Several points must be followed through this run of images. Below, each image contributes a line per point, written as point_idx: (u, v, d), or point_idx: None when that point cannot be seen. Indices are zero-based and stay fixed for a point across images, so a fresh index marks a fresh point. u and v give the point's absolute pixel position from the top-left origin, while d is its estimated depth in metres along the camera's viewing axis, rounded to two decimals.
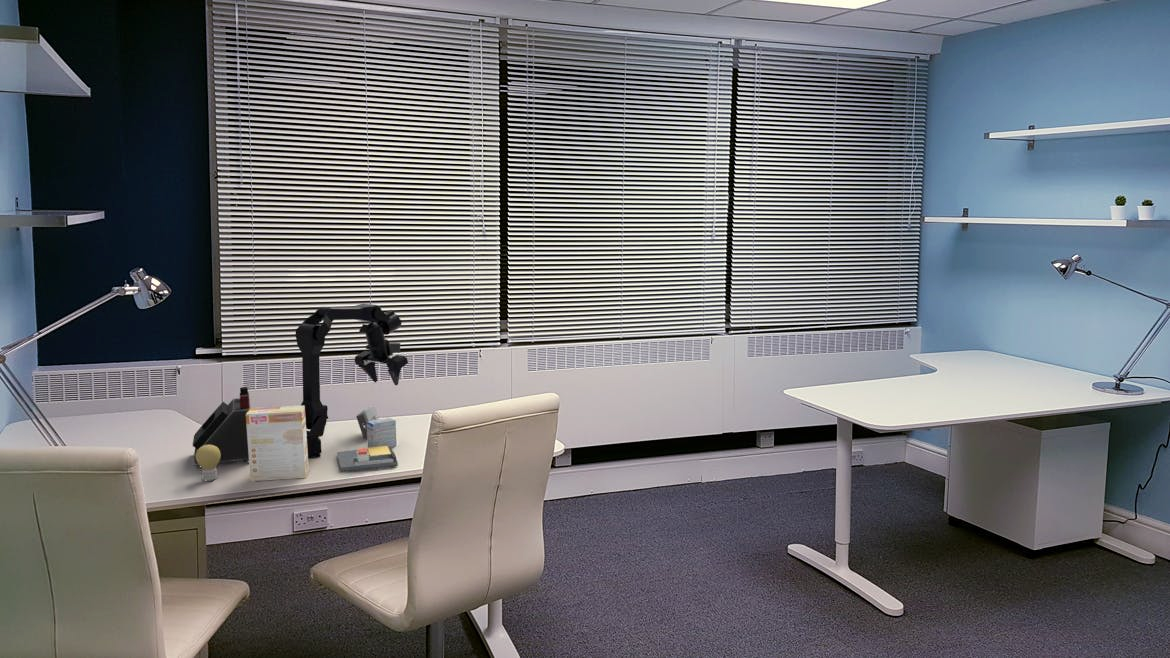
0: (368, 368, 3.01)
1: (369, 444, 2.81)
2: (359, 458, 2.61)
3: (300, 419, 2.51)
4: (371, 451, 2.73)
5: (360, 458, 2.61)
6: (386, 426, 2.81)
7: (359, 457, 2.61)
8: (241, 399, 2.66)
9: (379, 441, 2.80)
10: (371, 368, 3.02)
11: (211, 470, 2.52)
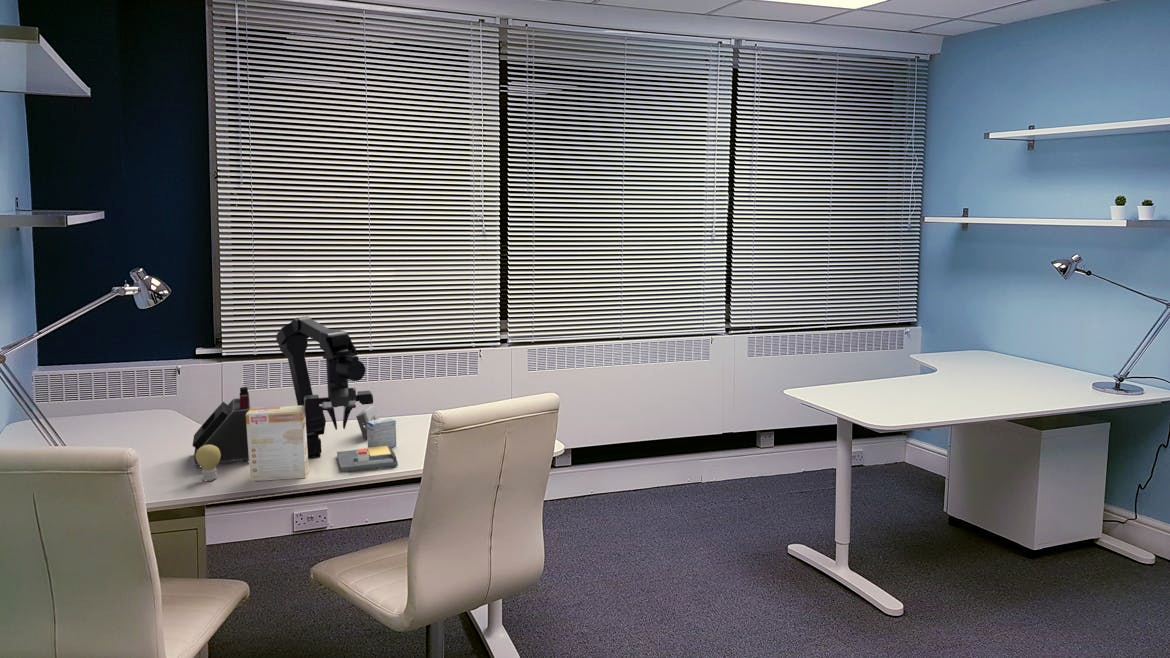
0: (344, 408, 2.61)
1: (369, 444, 2.81)
2: (359, 458, 2.61)
3: (300, 419, 2.51)
4: (371, 451, 2.73)
5: (360, 458, 2.61)
6: (386, 426, 2.81)
7: (359, 457, 2.61)
8: (241, 399, 2.66)
9: (379, 441, 2.80)
10: (344, 411, 2.60)
11: (211, 470, 2.52)
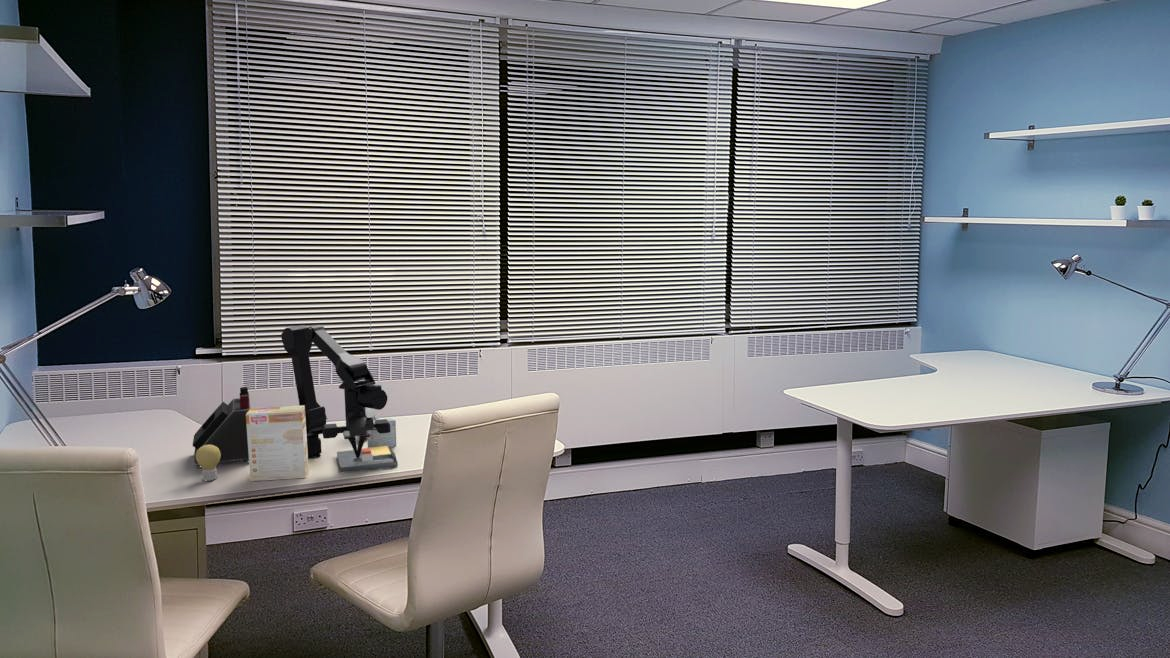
0: (358, 436, 2.63)
1: (369, 444, 2.81)
2: (362, 458, 2.62)
3: (300, 419, 2.51)
4: None
5: (364, 458, 2.62)
6: None
7: (363, 457, 2.62)
8: (241, 399, 2.66)
9: (379, 441, 2.80)
10: (358, 439, 2.63)
11: (211, 470, 2.52)
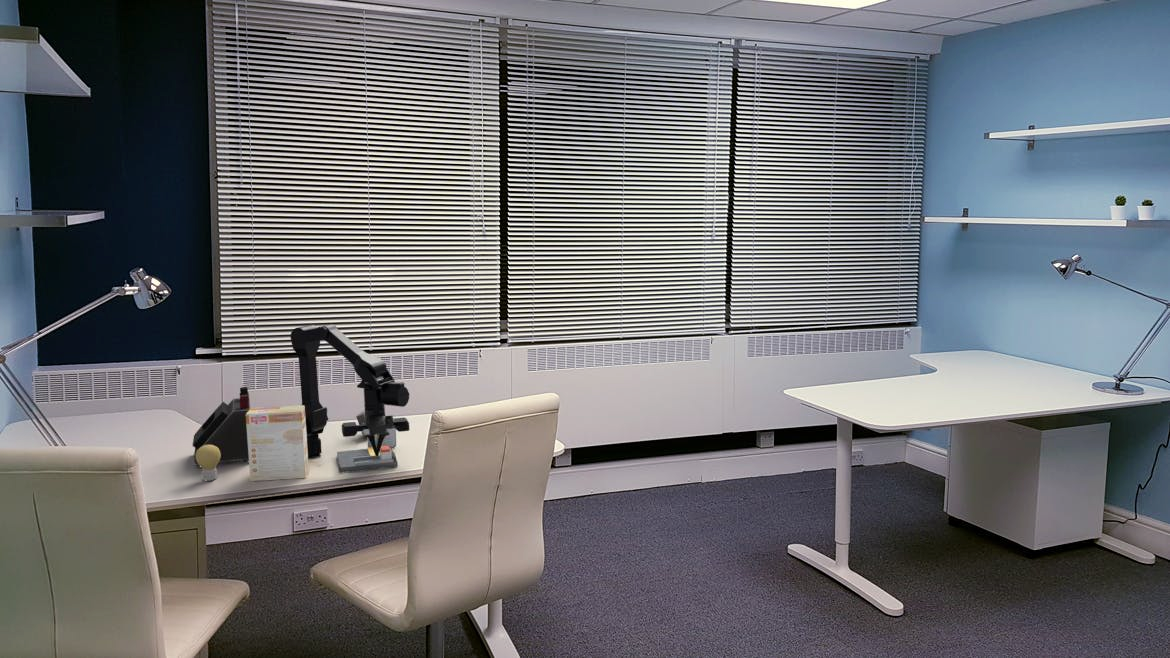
0: (377, 435, 2.65)
1: (369, 444, 2.81)
2: (381, 456, 2.63)
3: (300, 419, 2.51)
4: (371, 451, 2.73)
5: (383, 456, 2.63)
6: None
7: (382, 455, 2.63)
8: (241, 399, 2.66)
9: None
10: (377, 438, 2.64)
11: (211, 470, 2.52)
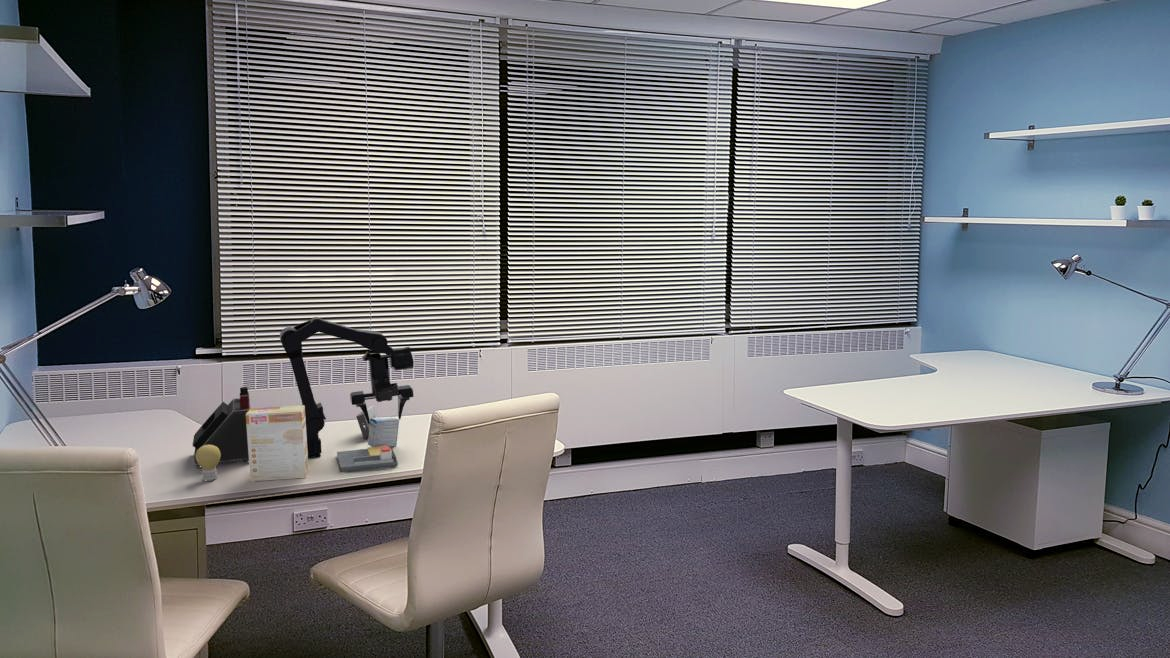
0: (398, 400, 2.84)
1: (370, 440, 2.81)
2: (382, 456, 2.63)
3: (300, 419, 2.51)
4: (371, 451, 2.73)
5: (383, 456, 2.63)
6: (389, 424, 2.81)
7: (382, 455, 2.63)
8: (241, 399, 2.66)
9: (380, 439, 2.80)
10: (398, 403, 2.83)
11: (211, 470, 2.52)
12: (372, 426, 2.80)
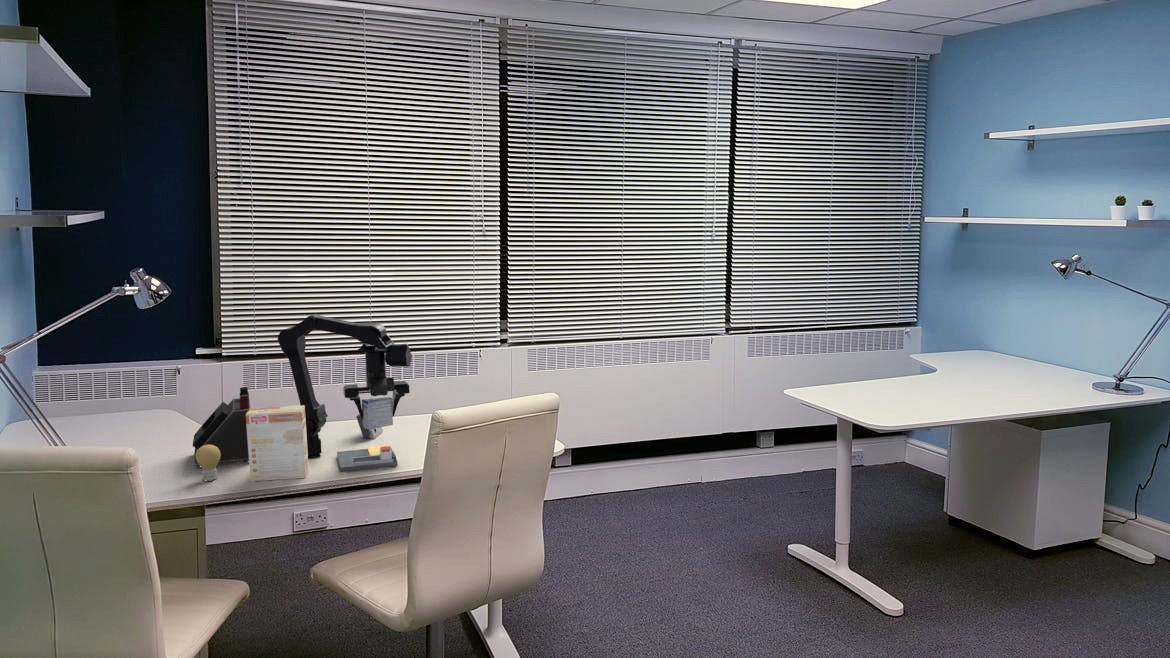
0: (393, 396, 2.73)
1: (364, 422, 2.70)
2: (382, 456, 2.63)
3: (300, 419, 2.51)
4: (371, 451, 2.73)
5: (383, 456, 2.63)
6: (382, 404, 2.69)
7: (382, 455, 2.63)
8: (241, 399, 2.66)
9: (375, 419, 2.68)
10: (393, 399, 2.72)
11: (211, 470, 2.52)
12: (364, 407, 2.68)
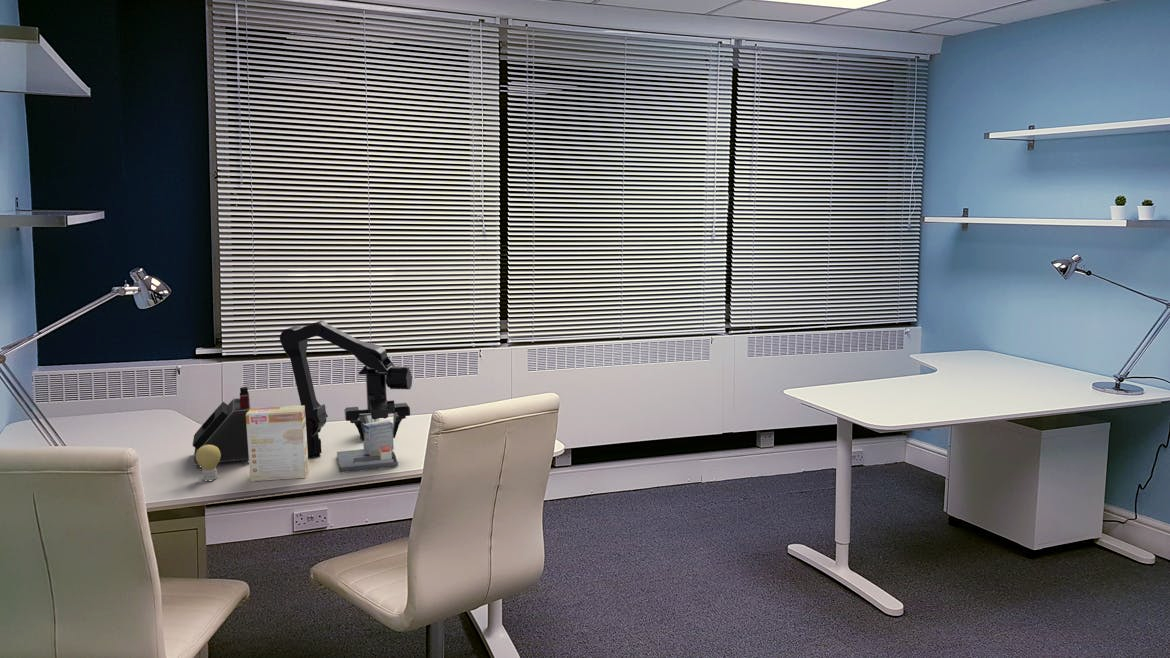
0: (394, 418, 2.74)
1: (365, 447, 2.71)
2: (382, 456, 2.63)
3: (300, 419, 2.51)
4: None
5: (383, 456, 2.63)
6: (382, 429, 2.70)
7: (382, 455, 2.63)
8: (241, 399, 2.66)
9: (375, 445, 2.69)
10: (394, 421, 2.73)
11: (211, 470, 2.52)
12: (365, 432, 2.69)
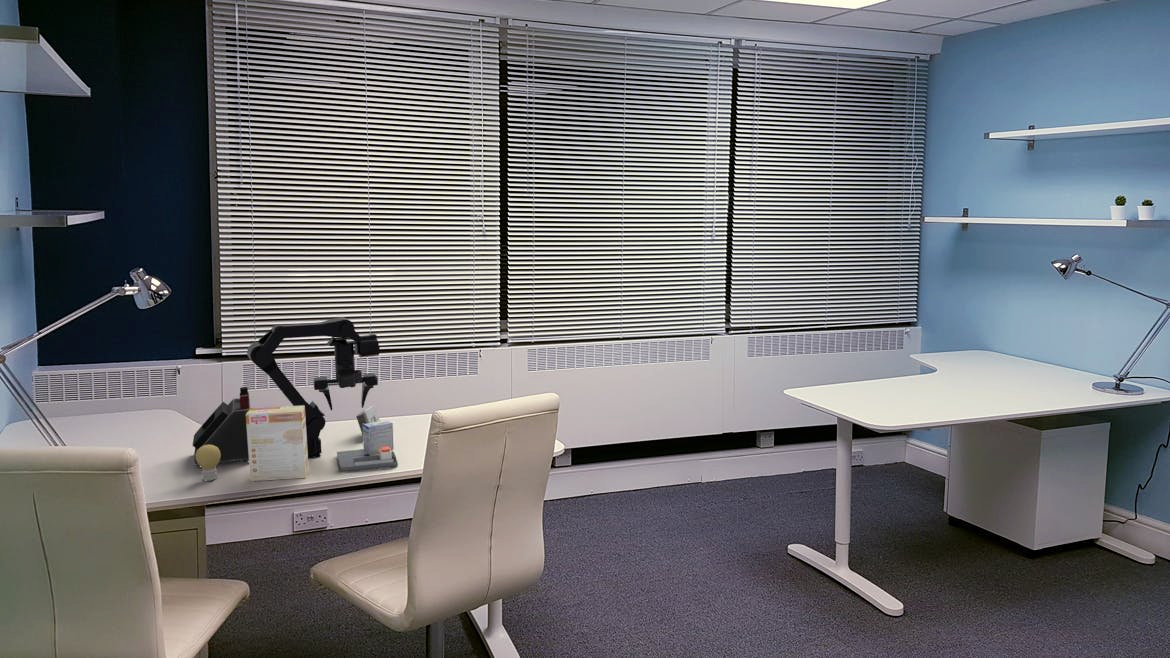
0: (362, 388, 2.81)
1: (365, 447, 2.71)
2: (382, 456, 2.63)
3: (300, 419, 2.51)
4: None
5: (383, 456, 2.63)
6: (382, 429, 2.70)
7: (382, 455, 2.63)
8: (241, 399, 2.66)
9: (375, 444, 2.69)
10: (362, 391, 2.80)
11: (211, 470, 2.52)
12: (365, 432, 2.69)
